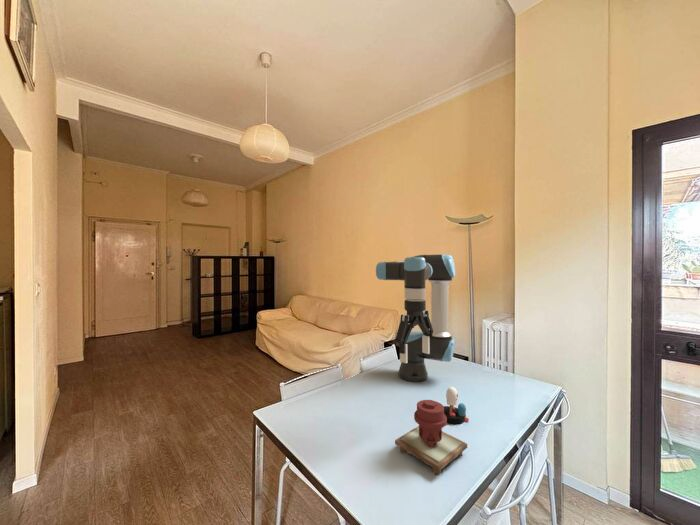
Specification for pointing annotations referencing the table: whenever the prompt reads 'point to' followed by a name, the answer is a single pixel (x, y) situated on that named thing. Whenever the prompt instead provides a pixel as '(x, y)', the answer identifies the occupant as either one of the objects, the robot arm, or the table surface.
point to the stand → (431, 449)
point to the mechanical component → (430, 421)
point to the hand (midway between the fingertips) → (415, 357)
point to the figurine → (452, 413)
